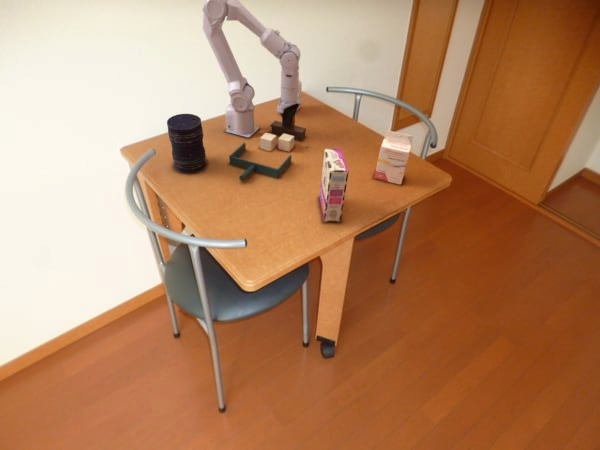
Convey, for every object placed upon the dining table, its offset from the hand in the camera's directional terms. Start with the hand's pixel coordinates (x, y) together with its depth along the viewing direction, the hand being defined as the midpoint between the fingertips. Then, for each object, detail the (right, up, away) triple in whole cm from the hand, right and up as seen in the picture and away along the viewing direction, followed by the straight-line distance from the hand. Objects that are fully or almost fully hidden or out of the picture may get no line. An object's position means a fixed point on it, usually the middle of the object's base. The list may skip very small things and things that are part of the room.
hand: (288, 123), depth 144 cm
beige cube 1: (-7, -9, -4) cm, 12 cm away
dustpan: (-10, -18, -14) cm, 25 cm away
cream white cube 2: (-1, -9, -4) cm, 10 cm away
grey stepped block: (0, -3, +3) cm, 4 cm away
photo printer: (0, +9, +17) cm, 19 cm away
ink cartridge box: (+32, -20, -14) cm, 40 cm away
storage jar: (-30, -16, -14) cm, 37 cm away
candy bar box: (+12, -31, -28) cm, 43 cm away
